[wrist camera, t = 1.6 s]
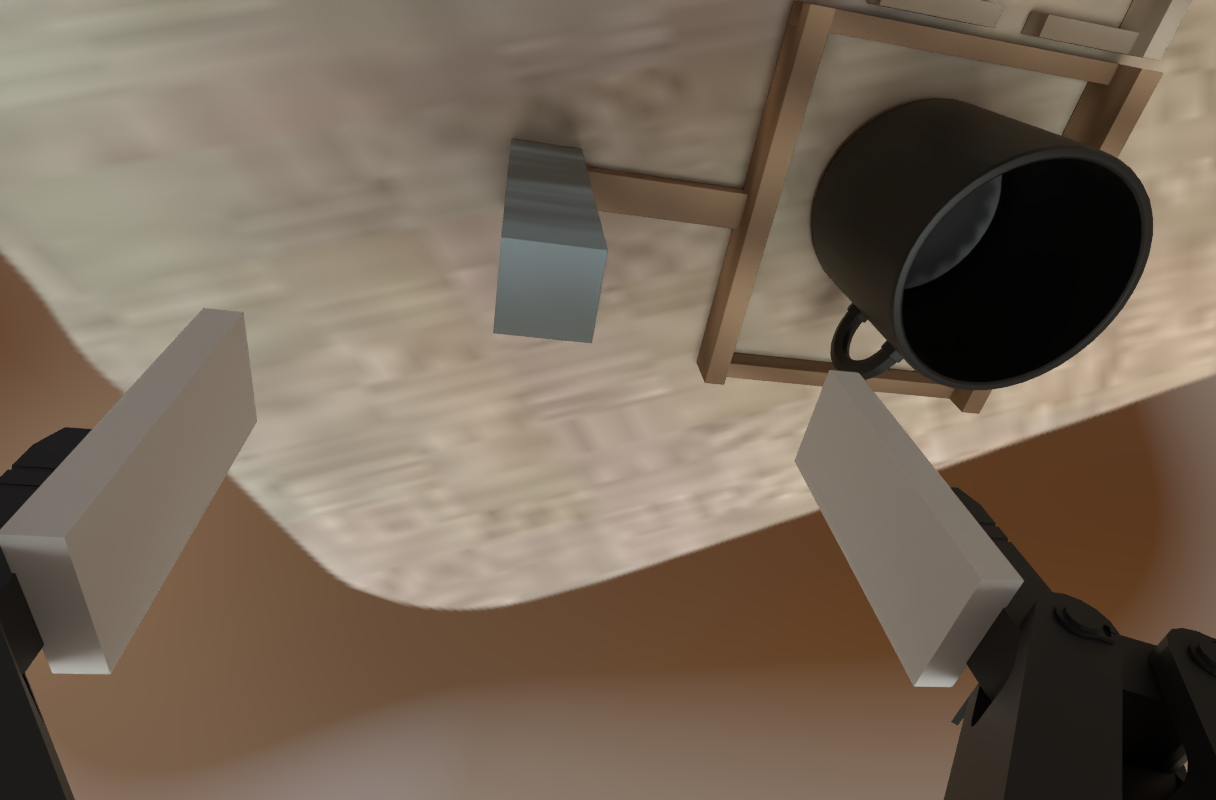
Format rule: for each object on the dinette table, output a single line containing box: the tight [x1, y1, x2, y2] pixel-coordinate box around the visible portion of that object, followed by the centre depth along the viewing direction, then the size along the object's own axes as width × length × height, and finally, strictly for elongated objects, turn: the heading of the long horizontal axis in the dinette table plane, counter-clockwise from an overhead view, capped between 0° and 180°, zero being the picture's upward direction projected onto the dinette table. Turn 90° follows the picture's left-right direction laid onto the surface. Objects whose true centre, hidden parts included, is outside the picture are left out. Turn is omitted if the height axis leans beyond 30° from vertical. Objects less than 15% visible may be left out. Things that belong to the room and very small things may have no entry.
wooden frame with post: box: [493, 1, 1163, 414], centre depth 27 cm, size 17×26×12 cm, turn 80°
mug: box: [812, 99, 1153, 390], centre depth 29 cm, size 9×12×9 cm
